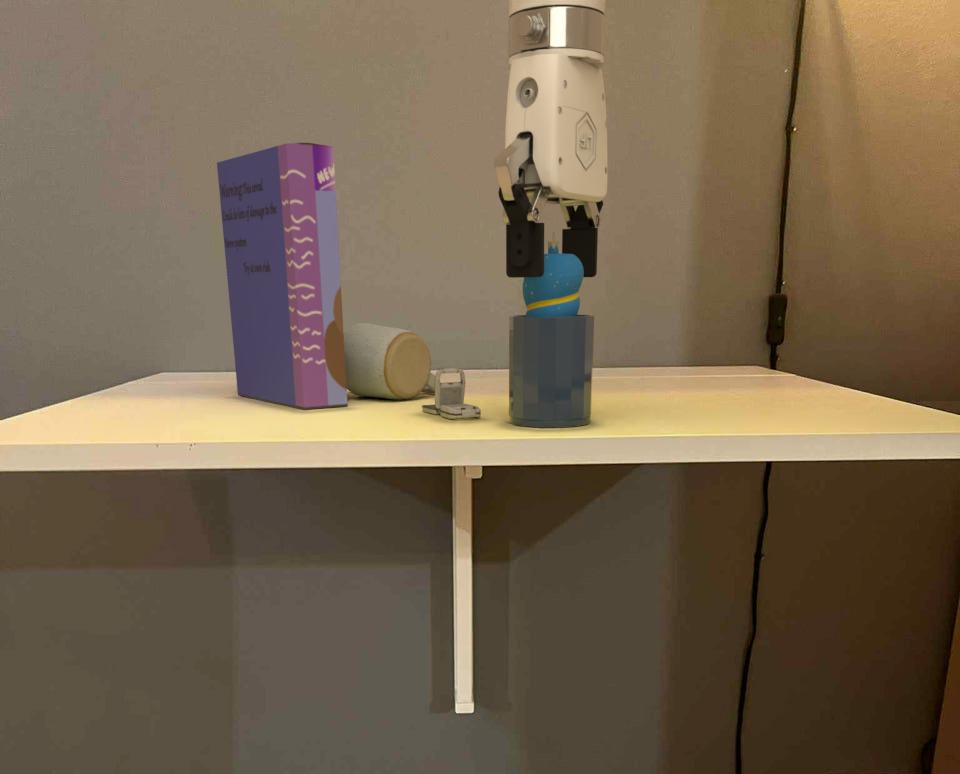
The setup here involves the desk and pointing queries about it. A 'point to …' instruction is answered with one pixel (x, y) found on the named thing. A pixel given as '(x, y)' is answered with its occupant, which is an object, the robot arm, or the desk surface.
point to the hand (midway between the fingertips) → (553, 277)
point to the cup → (550, 370)
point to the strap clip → (451, 398)
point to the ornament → (554, 285)
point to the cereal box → (284, 275)
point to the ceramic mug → (386, 362)
